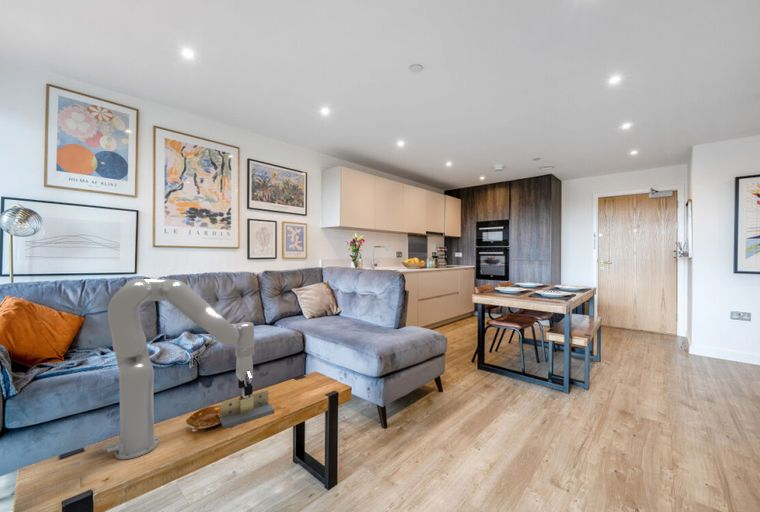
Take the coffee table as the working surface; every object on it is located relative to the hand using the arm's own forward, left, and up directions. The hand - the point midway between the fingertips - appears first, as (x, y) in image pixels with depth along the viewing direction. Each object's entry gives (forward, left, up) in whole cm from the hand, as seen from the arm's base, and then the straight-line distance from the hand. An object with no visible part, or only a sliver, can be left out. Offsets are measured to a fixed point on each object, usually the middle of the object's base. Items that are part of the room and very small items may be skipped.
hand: (245, 391), depth 137 cm
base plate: (0, 0, -10) cm, 10 cm away
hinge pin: (0, 0, -8) cm, 8 cm away
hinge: (0, 0, -8) cm, 8 cm away
